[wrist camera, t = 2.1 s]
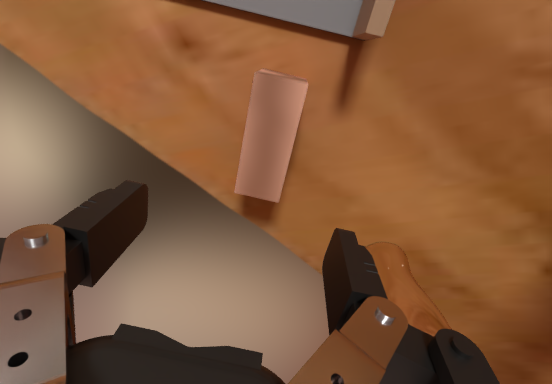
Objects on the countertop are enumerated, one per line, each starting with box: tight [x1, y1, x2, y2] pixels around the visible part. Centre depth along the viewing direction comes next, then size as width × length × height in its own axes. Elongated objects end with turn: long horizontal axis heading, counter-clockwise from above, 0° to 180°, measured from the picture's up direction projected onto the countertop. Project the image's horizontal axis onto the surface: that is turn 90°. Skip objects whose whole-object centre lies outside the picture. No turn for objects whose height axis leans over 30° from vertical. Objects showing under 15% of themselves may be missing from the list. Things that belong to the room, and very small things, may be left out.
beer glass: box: [365, 242, 452, 336], centre depth 28 cm, size 7×7×15 cm
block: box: [234, 68, 308, 203], centre depth 26 cm, size 4×10×6 cm, turn 168°
